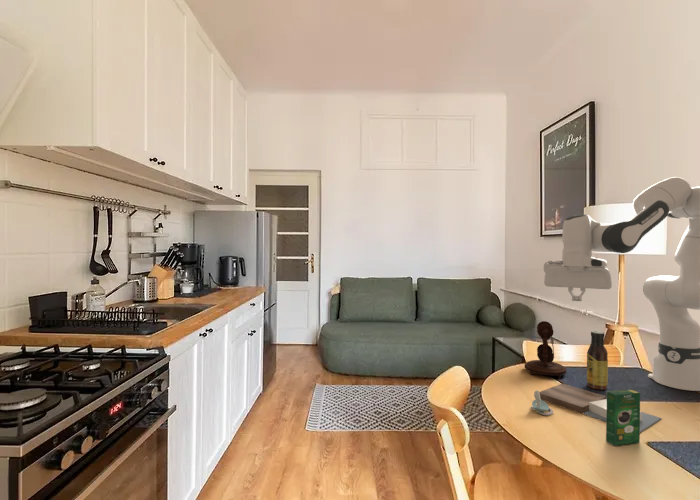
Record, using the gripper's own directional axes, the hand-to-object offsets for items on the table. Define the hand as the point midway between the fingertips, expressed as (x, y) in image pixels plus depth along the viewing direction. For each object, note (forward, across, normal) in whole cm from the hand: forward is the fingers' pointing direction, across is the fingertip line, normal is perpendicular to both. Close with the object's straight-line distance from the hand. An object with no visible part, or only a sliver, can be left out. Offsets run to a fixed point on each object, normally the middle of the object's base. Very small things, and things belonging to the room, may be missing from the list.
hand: (576, 300), depth 134 cm
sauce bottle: (+31, +6, +6) cm, 32 cm away
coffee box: (+31, +12, -35) cm, 49 cm away
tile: (+31, +11, -19) cm, 38 cm away
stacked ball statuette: (+31, -12, +14) cm, 36 cm away
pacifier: (+32, -7, -26) cm, 42 cm away
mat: (+31, +12, -18) cm, 38 cm away
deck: (+31, -1, -12) cm, 33 cm away
